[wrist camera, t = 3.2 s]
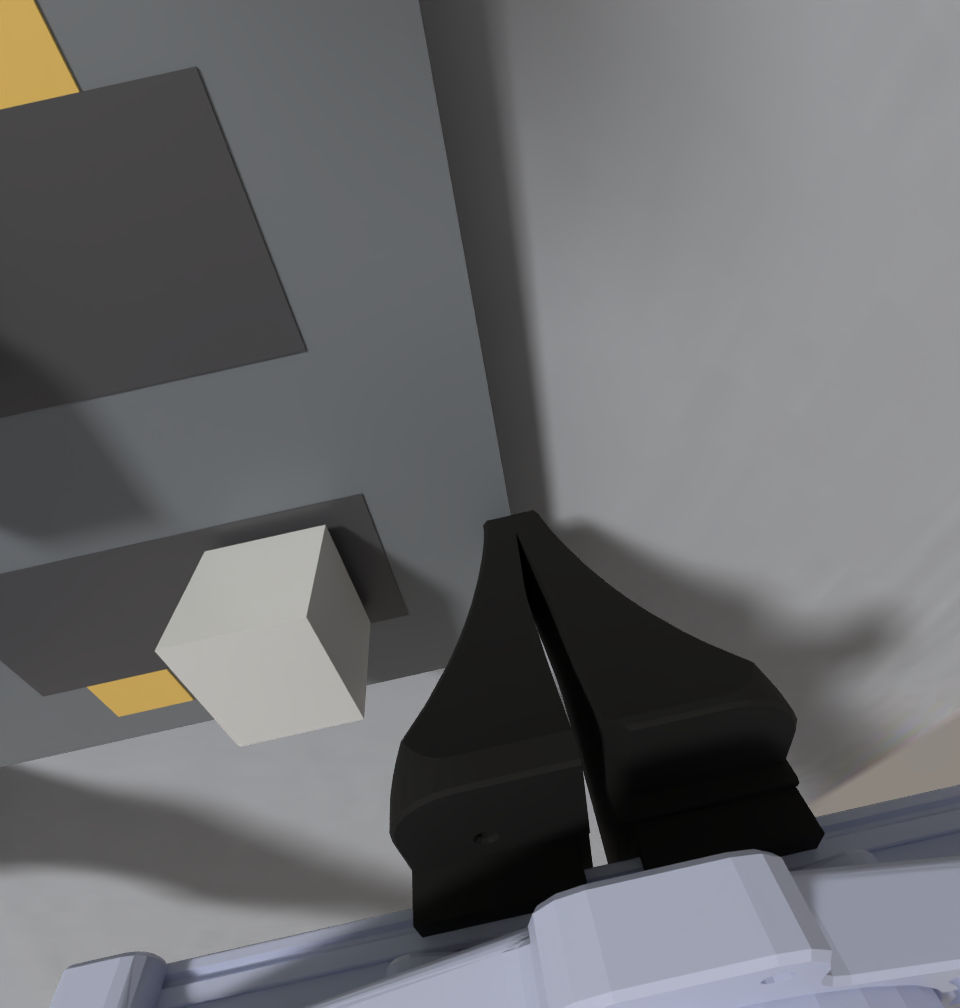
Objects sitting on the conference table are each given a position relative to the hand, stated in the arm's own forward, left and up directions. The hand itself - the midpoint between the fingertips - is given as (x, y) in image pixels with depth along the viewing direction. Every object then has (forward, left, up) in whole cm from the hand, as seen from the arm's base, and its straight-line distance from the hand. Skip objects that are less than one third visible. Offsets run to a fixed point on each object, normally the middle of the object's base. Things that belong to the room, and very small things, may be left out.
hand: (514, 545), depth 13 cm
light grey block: (-6, 0, 0) cm, 6 cm away
